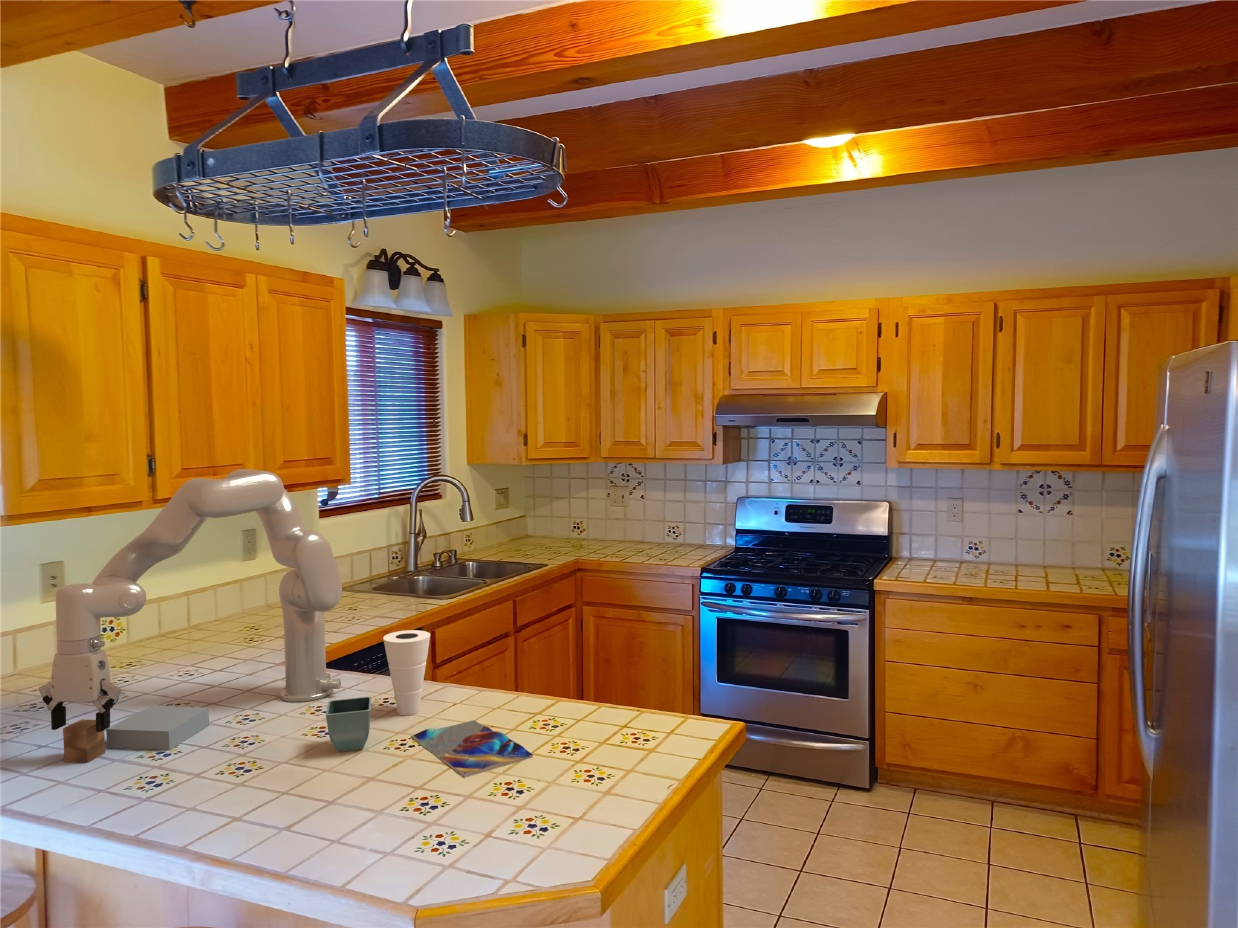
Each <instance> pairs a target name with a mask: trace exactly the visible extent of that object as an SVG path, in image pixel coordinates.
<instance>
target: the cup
mask: <svg viewBox="0 0 1238 928" xmlns="http://www.w3.org/2000/svg"><path fill="white" fill-rule="evenodd" d="M382 639H383V645H384V648H385V654H386V659H387V662H388V668H389V673H390V679H391V684H392V687H393V694H394V700H395V703H396V705H395V706H396V711H397V714H398V715H399V716H412V715H413V716H414V715H417V714H418V713H419V712H420V707H421V701H422V695H423V694H422V693H423V685H424V679H425V673H426V666H427V659H428V654H429V647H430V640H431V633H430V632H428V631H426V630H419V629H418V630H417V629H415V630H414V629H413V630H412V629H411V630H407V629H406V630H399V631H398V630H397V631H393V632H390V633H388V634H385V635H384V636H383V638H382Z"/></svg>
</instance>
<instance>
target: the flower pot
mask: <svg viewBox="0 0 1238 928" xmlns="http://www.w3.org/2000/svg"><path fill="white" fill-rule="evenodd" d="M371 711H372V696H363V697H362V696H360V697H352V698H344V699H343V698H342V699H334V700H333V699H332V700H329V701H327V708H326V712H325V718H326V725H327V731H328V736H329V739H330V742H331V744H332V745H333V747H334V749H335V750H336V751H337V752H348V751H349V752H350V751H357V750H363V749H364V747H365V745H366V743H367V741H368V739H369V734H370V729H371V728H370V727H371V726H370V725H371V715H372V713H371Z"/></svg>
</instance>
